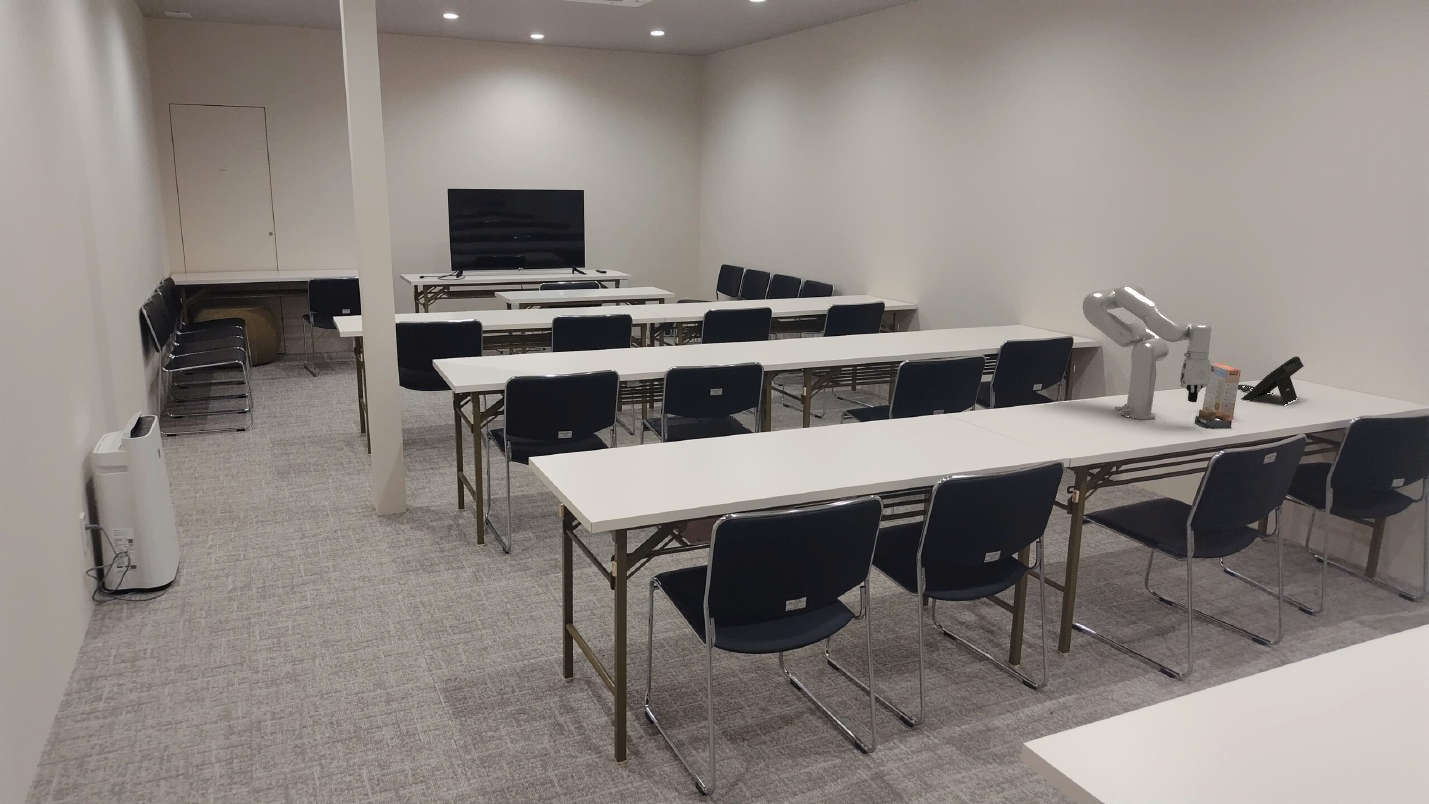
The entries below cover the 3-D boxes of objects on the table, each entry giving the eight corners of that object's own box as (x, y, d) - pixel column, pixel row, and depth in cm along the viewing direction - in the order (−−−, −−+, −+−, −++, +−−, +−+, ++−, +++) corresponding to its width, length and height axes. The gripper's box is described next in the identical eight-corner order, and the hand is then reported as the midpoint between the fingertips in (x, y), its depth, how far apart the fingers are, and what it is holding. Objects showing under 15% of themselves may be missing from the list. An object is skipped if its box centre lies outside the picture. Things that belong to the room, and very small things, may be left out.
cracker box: (1233, 419, 367) (1241, 369, 362) (1218, 419, 367) (1226, 369, 362) (1215, 411, 380) (1223, 362, 375) (1201, 410, 380) (1208, 362, 375)
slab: (1205, 419, 353) (1206, 412, 353) (1198, 416, 358) (1199, 409, 357) (1215, 419, 354) (1216, 412, 353) (1207, 416, 358) (1208, 409, 357)
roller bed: (1207, 428, 352) (1208, 416, 351) (1194, 423, 360) (1196, 411, 359) (1230, 428, 353) (1232, 415, 352) (1217, 422, 361) (1219, 410, 360)
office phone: (1239, 386, 429) (1245, 345, 424) (1306, 398, 408) (1313, 354, 403) (1213, 395, 410) (1220, 352, 405) (1282, 407, 389) (1290, 362, 384)
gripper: (1185, 357, 344) (1179, 404, 348) (1221, 357, 346) (1216, 403, 350) (1173, 354, 352) (1168, 400, 356) (1209, 353, 353) (1203, 399, 357)
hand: (1192, 401), depth 353 cm, fingers closed
